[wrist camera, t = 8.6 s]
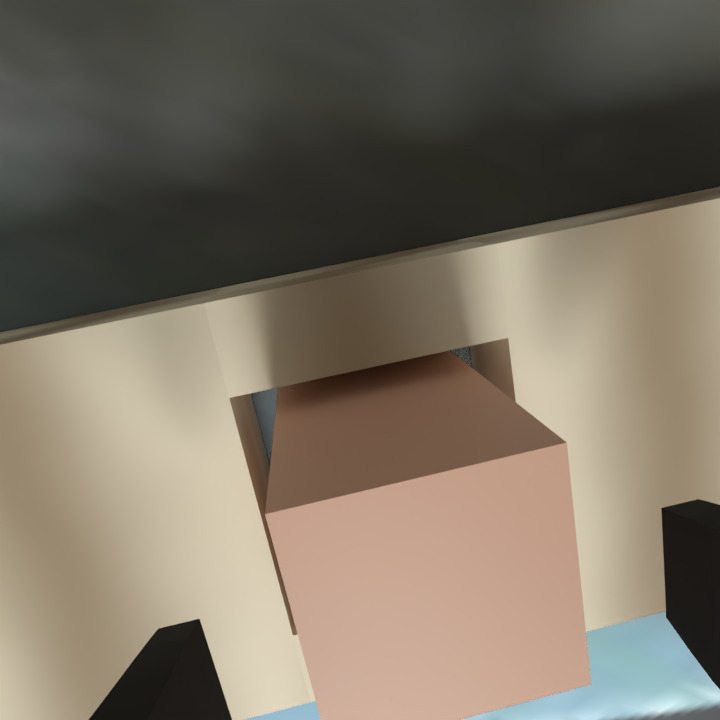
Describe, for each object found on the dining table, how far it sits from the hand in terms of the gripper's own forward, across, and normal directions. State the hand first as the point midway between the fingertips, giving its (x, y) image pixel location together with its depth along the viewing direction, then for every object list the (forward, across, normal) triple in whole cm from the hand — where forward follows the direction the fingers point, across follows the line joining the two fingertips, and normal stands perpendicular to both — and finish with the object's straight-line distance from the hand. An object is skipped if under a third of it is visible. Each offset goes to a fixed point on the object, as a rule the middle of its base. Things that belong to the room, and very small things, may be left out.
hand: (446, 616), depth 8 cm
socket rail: (+7, 0, 0) cm, 7 cm away
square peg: (+7, 0, 0) cm, 7 cm away
